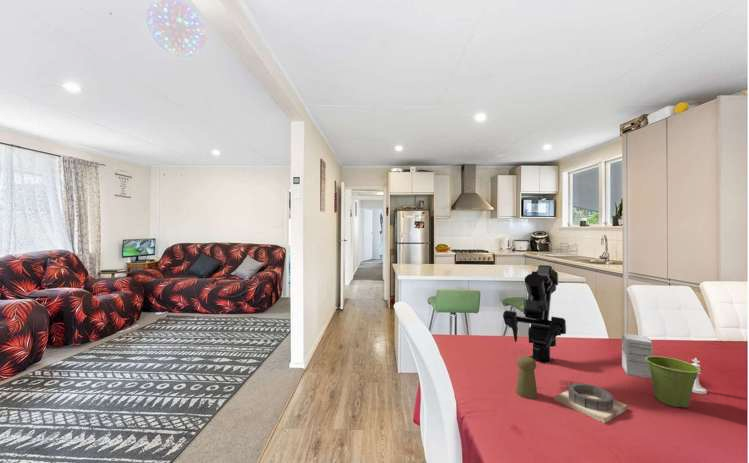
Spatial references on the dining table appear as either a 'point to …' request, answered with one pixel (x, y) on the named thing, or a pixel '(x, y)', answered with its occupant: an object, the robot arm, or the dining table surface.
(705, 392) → the chess piece
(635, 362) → the supplement box
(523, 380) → the cork
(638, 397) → the dining table surface
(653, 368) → the plant pot
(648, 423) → the dining table surface
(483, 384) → the dining table surface
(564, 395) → the collar board
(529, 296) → the robot arm
